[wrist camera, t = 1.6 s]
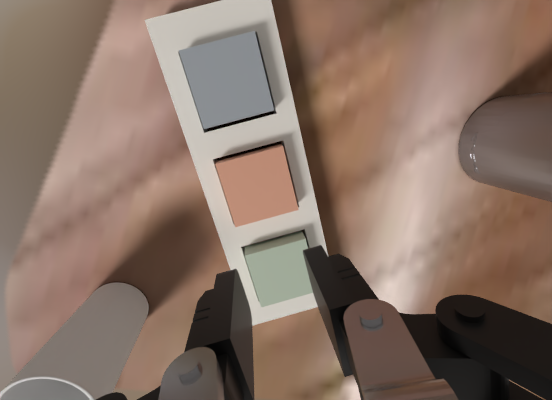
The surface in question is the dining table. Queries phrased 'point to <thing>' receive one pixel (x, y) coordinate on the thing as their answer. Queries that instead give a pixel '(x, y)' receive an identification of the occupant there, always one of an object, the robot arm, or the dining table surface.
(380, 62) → the dining table surface
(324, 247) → the button panel
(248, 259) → the green button
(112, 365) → the mug
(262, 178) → the terracotta button
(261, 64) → the grey button
